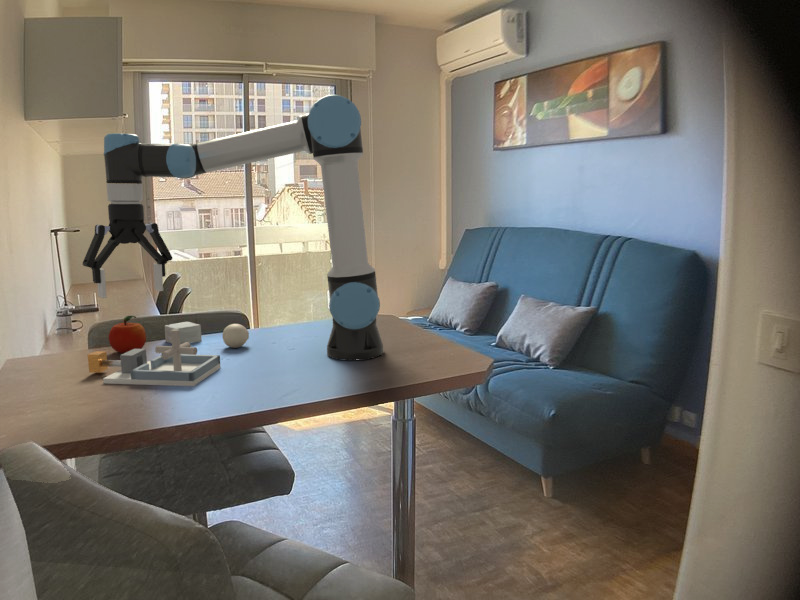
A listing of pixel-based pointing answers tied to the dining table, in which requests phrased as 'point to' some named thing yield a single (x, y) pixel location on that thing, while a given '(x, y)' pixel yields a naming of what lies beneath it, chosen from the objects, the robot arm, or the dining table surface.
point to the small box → (184, 332)
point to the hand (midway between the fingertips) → (131, 293)
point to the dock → (163, 369)
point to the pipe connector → (176, 350)
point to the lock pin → (101, 362)
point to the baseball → (235, 335)
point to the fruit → (127, 336)
